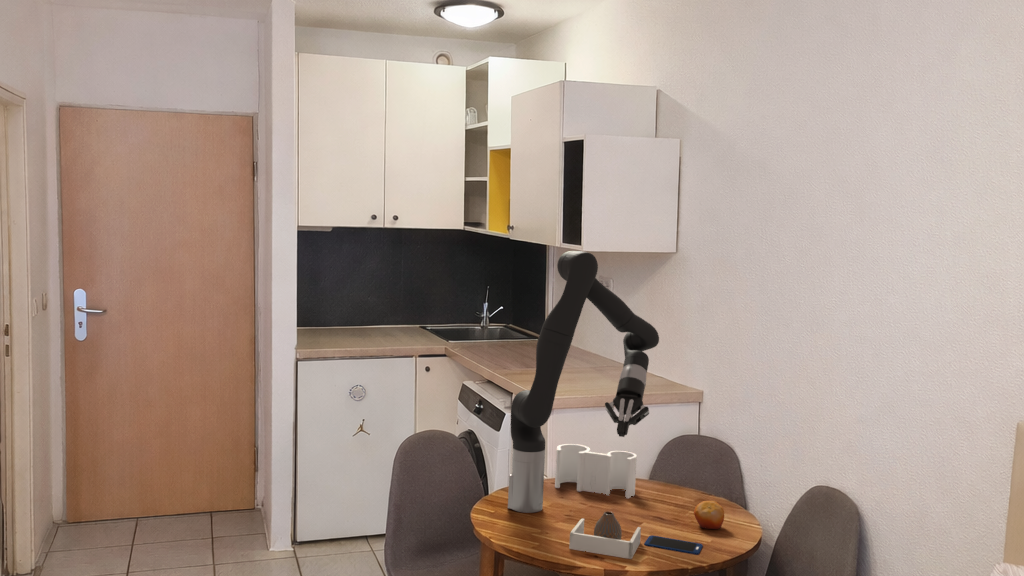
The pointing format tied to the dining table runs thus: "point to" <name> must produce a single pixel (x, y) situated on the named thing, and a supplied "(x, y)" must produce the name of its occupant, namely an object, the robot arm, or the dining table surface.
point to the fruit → (709, 515)
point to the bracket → (595, 469)
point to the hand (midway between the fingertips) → (621, 435)
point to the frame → (603, 543)
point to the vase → (608, 527)
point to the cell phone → (674, 544)
